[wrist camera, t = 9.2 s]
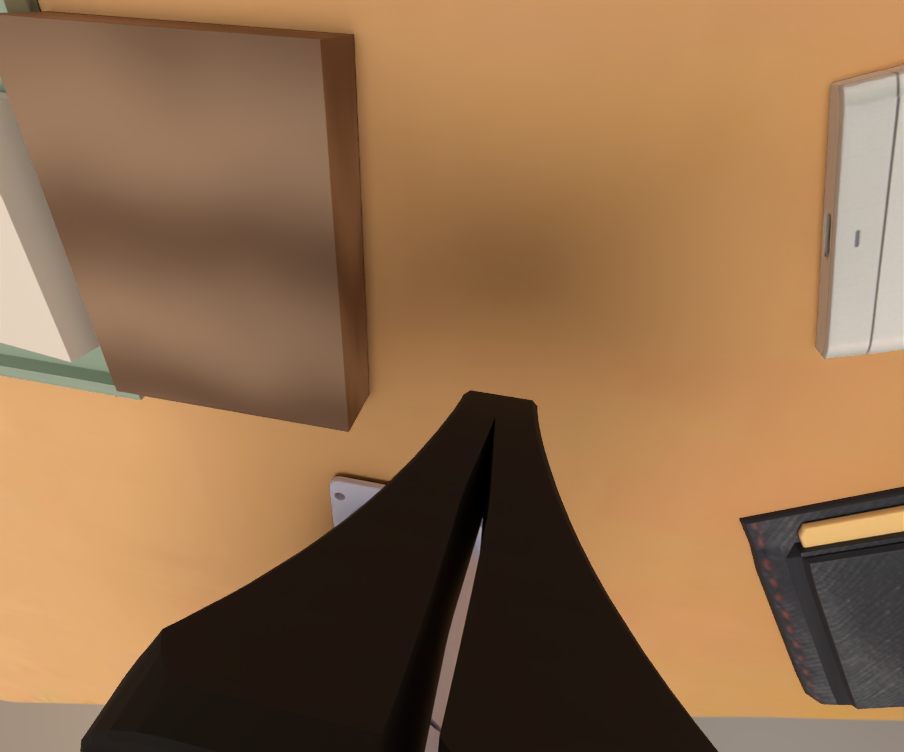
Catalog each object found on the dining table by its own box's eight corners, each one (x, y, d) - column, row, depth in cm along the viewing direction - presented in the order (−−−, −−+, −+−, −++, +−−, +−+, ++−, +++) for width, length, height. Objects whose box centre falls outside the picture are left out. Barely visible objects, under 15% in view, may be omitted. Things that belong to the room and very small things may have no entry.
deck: (369, 394, 23) (348, 431, 21) (154, 358, 25) (116, 391, 23) (353, 34, 16) (319, 39, 14) (48, 11, 17) (-24, 13, 15)
